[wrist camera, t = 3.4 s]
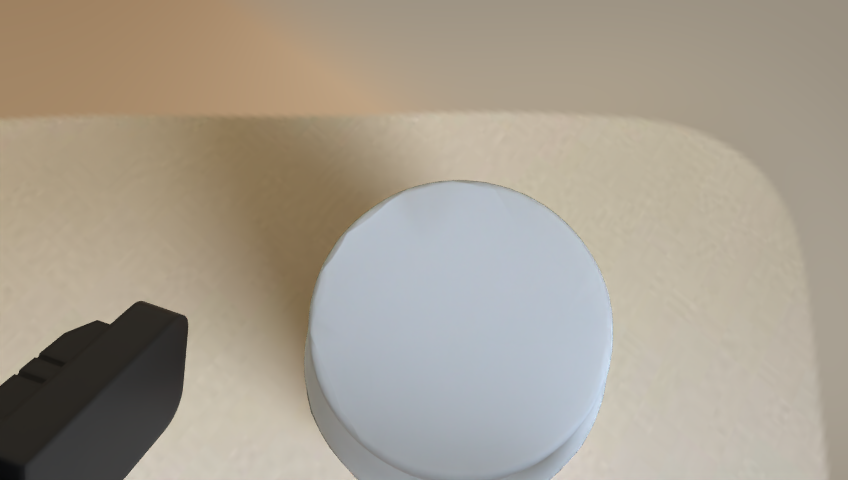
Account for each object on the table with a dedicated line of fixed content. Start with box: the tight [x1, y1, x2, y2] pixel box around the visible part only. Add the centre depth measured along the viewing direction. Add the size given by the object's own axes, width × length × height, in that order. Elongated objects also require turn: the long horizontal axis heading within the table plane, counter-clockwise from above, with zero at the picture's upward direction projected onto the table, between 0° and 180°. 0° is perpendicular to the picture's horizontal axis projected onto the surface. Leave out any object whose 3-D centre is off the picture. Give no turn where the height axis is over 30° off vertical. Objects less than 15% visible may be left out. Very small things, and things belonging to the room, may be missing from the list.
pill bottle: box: [304, 180, 613, 480], centre depth 17 cm, size 6×6×10 cm
